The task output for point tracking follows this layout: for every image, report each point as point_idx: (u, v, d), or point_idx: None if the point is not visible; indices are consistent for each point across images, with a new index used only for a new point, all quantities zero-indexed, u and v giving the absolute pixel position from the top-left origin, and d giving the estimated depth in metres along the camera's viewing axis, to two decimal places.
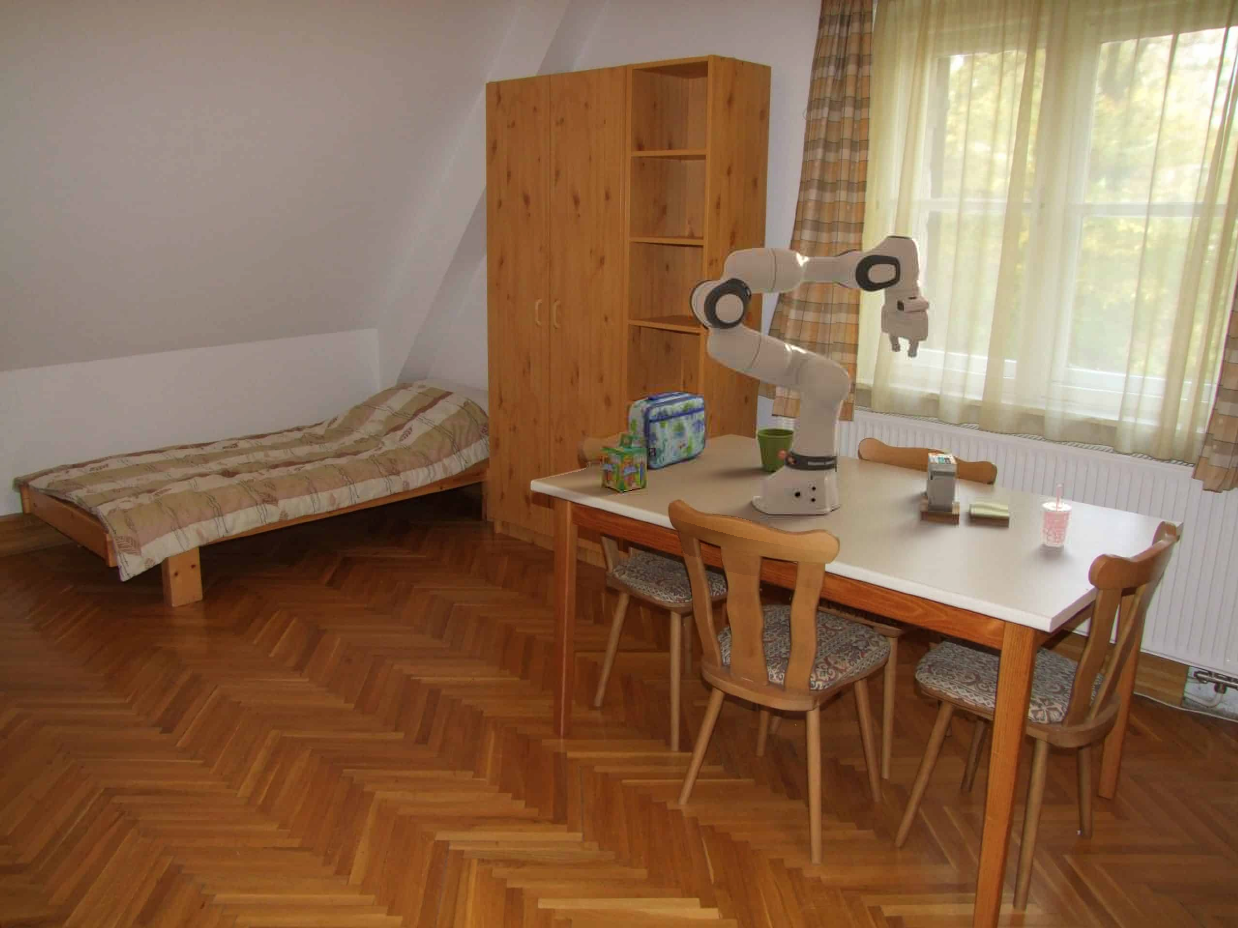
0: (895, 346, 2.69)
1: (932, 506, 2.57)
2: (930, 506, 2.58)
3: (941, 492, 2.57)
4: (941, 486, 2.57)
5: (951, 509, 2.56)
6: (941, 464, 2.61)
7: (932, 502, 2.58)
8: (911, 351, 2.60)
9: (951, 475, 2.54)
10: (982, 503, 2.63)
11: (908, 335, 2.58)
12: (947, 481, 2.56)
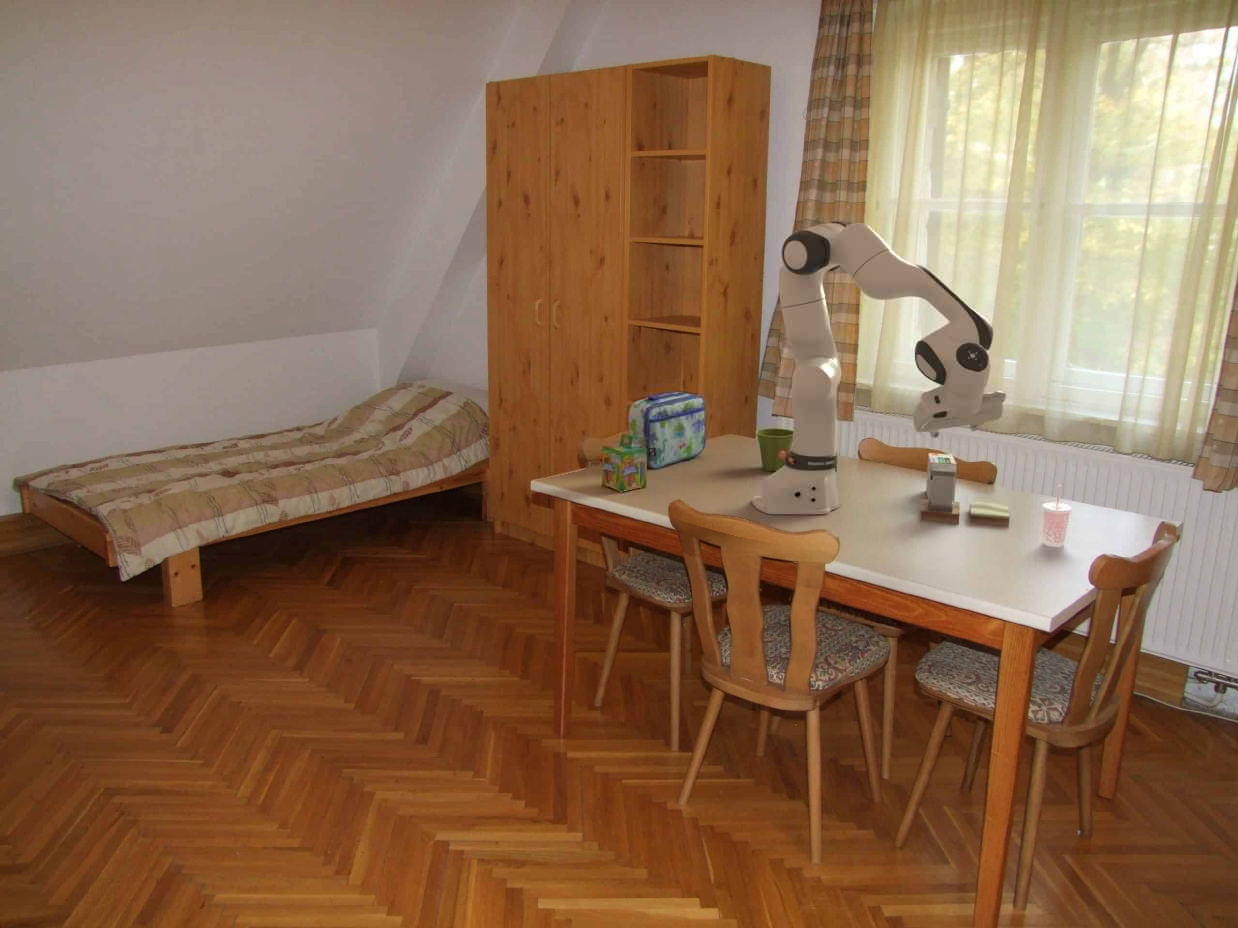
0: (970, 424, 2.48)
1: (932, 506, 2.57)
2: (930, 506, 2.58)
3: (941, 492, 2.57)
4: (941, 486, 2.57)
5: (951, 509, 2.56)
6: (941, 464, 2.61)
7: (932, 502, 2.58)
8: None
9: (951, 475, 2.54)
10: (982, 503, 2.63)
11: None
12: (947, 481, 2.56)
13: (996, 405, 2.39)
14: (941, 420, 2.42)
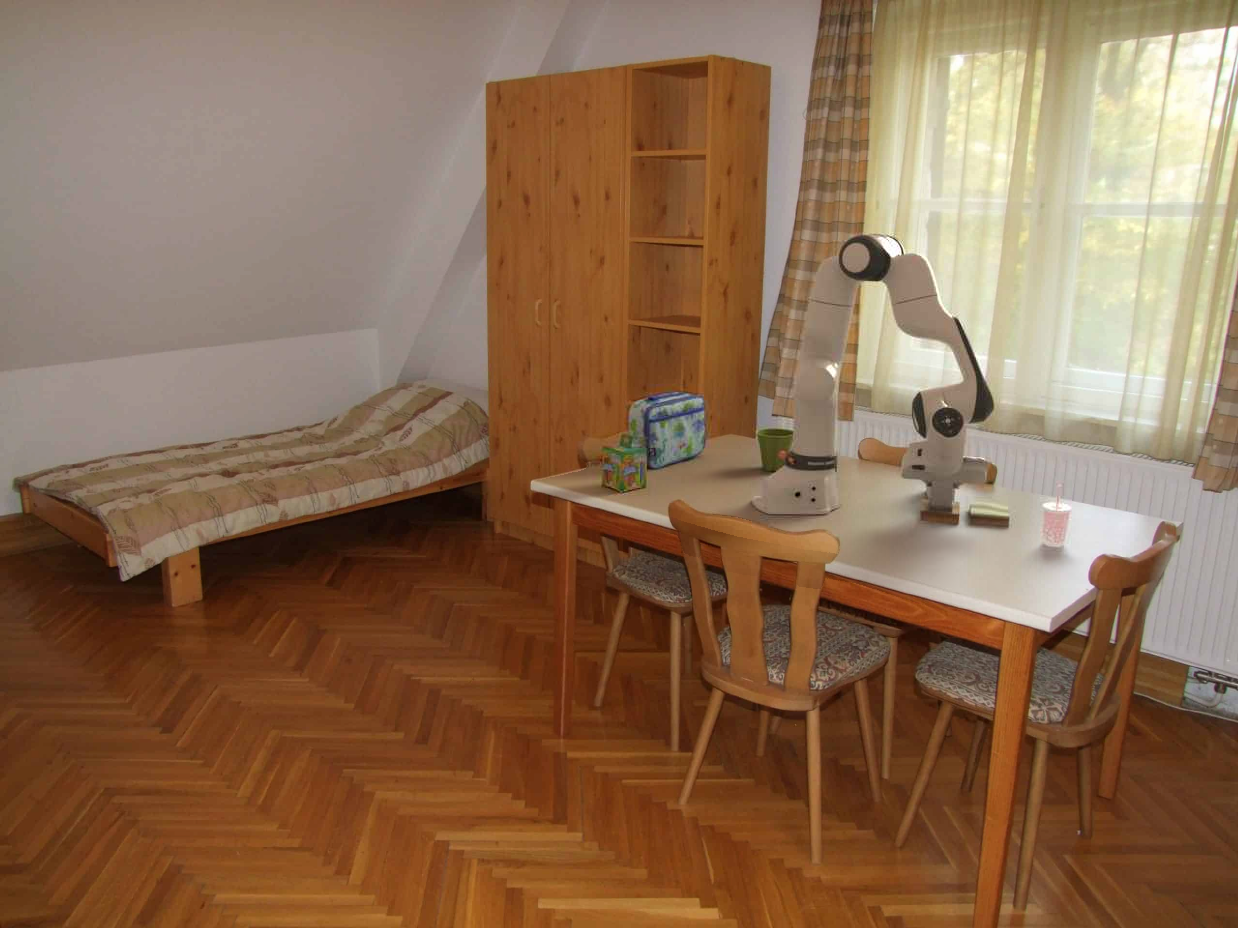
0: (953, 481, 2.58)
1: (932, 506, 2.57)
2: (930, 506, 2.58)
3: (941, 492, 2.57)
4: (941, 486, 2.57)
5: (951, 509, 2.56)
6: None
7: (932, 502, 2.58)
8: None
9: None
10: (982, 503, 2.63)
11: None
12: None
13: (977, 470, 2.48)
14: (924, 472, 2.53)
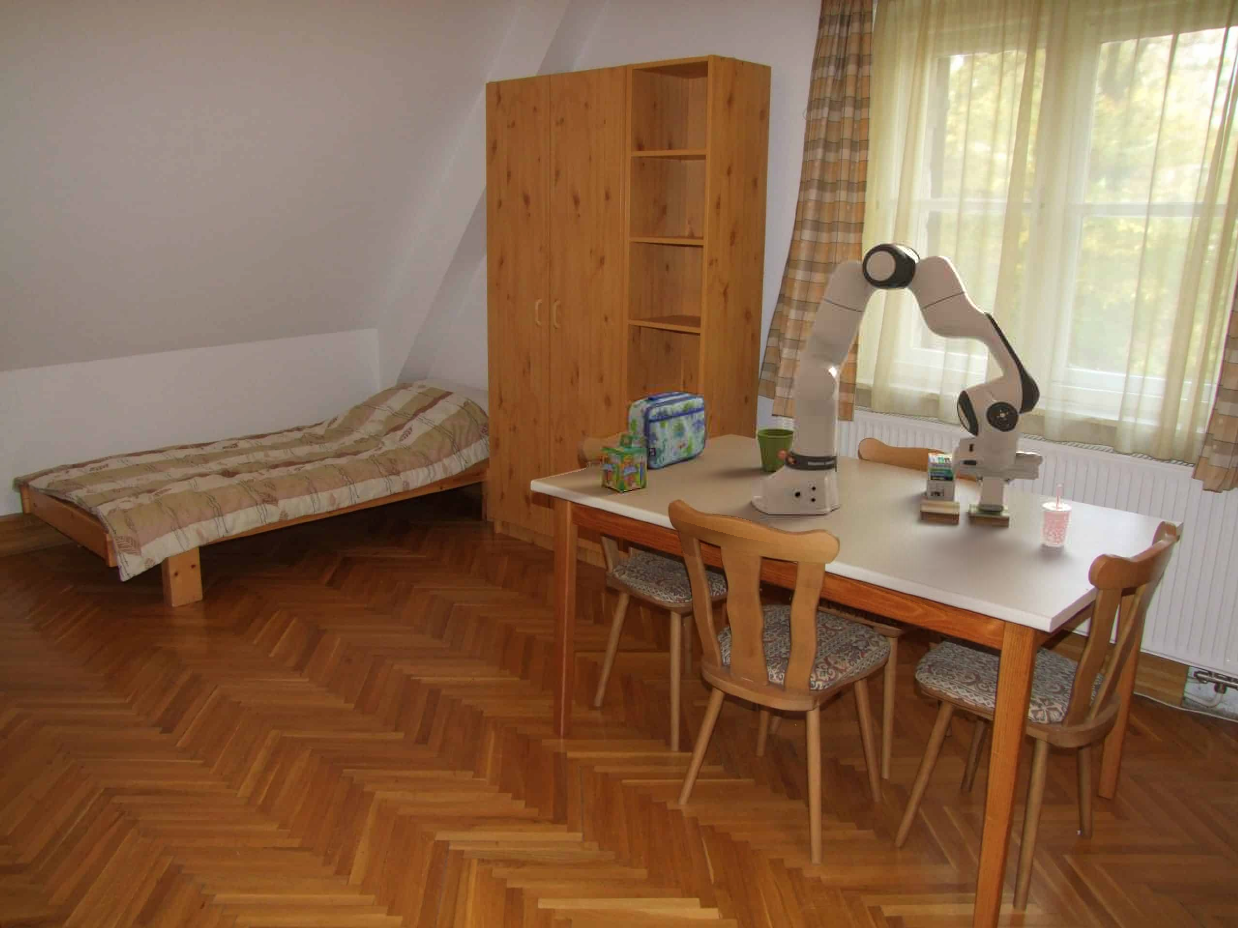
0: None
1: (982, 505, 2.53)
2: (980, 505, 2.53)
3: (992, 491, 2.53)
4: (991, 485, 2.53)
5: (1002, 508, 2.52)
6: None
7: (982, 501, 2.54)
8: None
9: None
10: None
11: None
12: (997, 479, 2.53)
13: (1030, 466, 2.45)
14: (975, 467, 2.51)
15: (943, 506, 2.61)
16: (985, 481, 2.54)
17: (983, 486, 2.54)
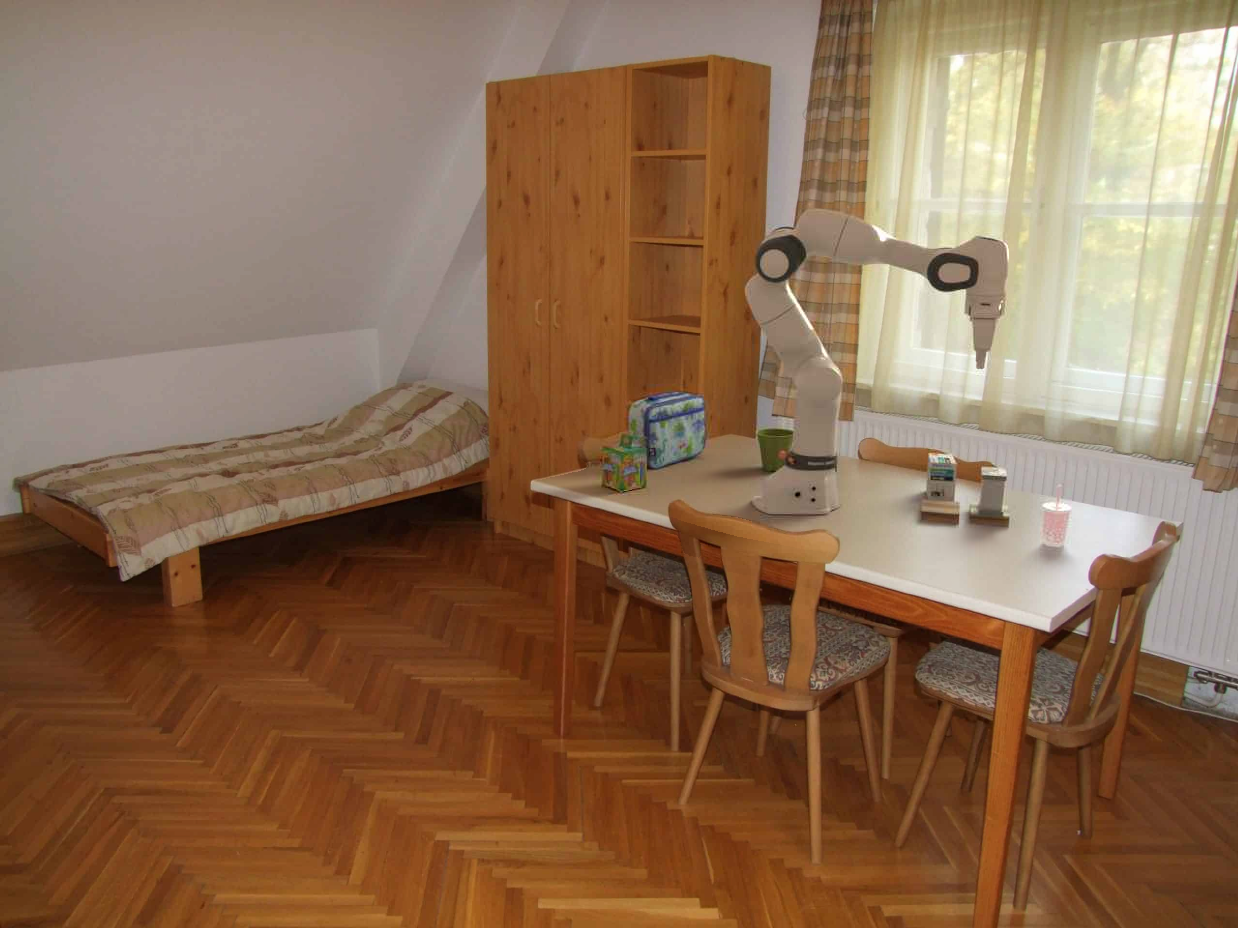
0: None
1: (982, 511, 2.53)
2: (980, 511, 2.54)
3: (991, 497, 2.53)
4: (991, 491, 2.52)
5: (1002, 514, 2.52)
6: (991, 468, 2.57)
7: (982, 507, 2.54)
8: (978, 362, 2.41)
9: (1002, 479, 2.50)
10: None
11: None
12: (997, 486, 2.52)
13: None
14: None
15: (943, 506, 2.61)
16: (985, 487, 2.53)
17: (983, 492, 2.53)
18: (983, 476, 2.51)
